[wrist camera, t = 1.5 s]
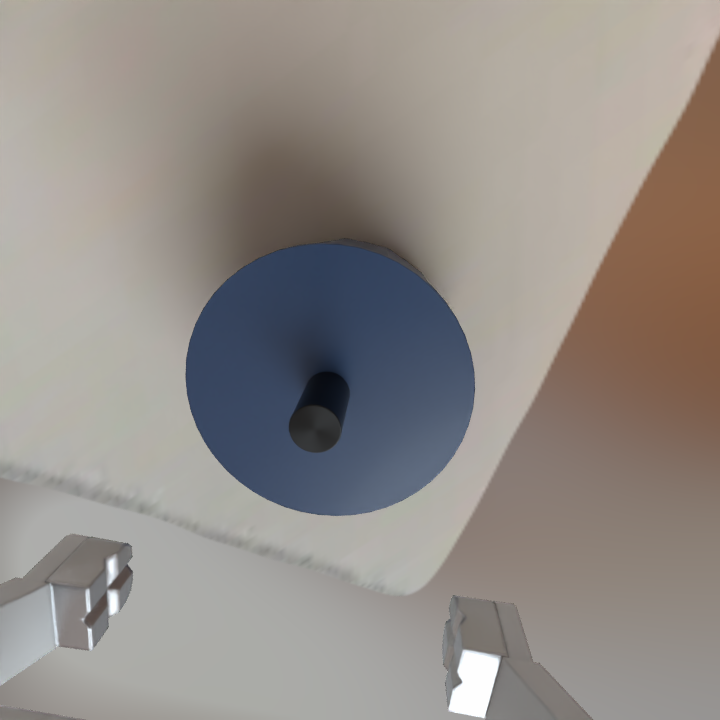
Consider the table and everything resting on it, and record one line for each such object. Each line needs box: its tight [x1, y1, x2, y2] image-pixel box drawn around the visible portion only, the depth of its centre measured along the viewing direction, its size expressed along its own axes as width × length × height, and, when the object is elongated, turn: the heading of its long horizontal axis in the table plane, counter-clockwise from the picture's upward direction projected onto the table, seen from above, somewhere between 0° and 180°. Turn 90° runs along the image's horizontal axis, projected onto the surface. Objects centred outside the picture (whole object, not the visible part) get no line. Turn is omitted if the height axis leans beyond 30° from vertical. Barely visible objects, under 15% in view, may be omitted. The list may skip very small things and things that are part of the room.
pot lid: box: [186, 243, 475, 516], centre depth 24 cm, size 16×16×6 cm
